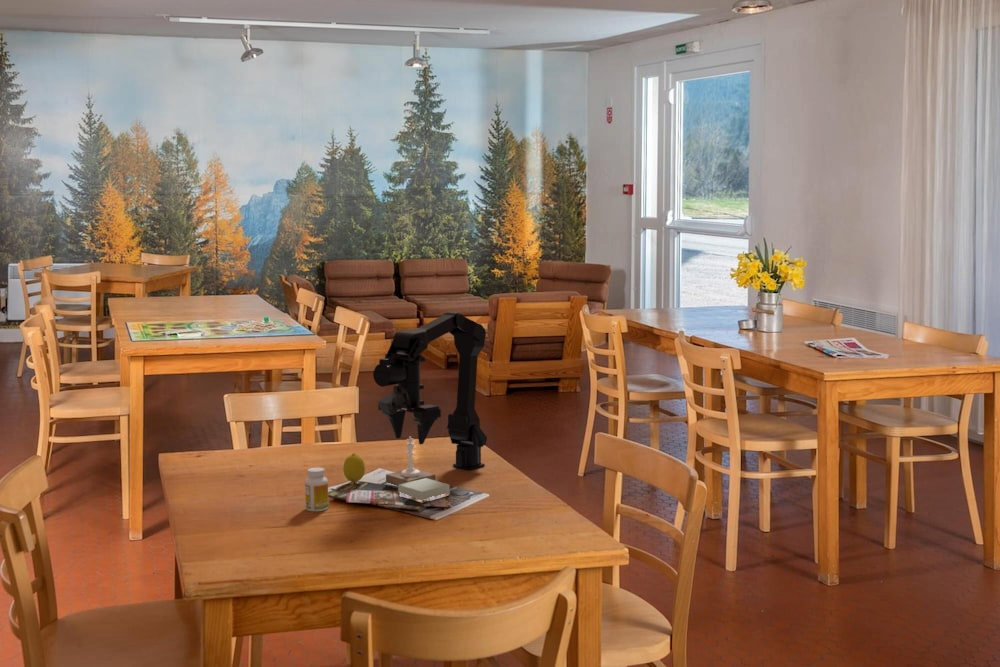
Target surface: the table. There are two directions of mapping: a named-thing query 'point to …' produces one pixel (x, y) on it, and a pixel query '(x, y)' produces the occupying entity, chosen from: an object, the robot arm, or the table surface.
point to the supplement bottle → (316, 490)
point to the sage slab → (424, 488)
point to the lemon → (354, 468)
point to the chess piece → (410, 461)
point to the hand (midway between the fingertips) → (409, 441)
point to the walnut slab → (399, 479)
